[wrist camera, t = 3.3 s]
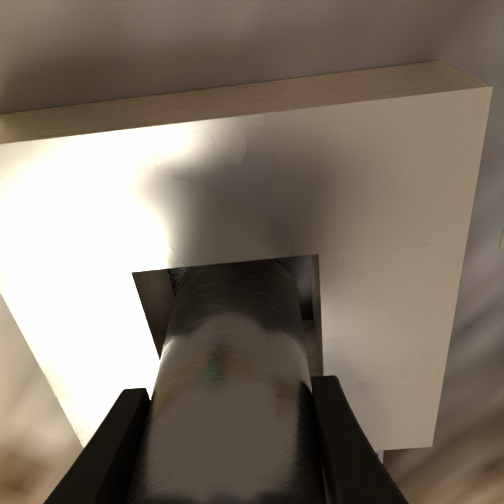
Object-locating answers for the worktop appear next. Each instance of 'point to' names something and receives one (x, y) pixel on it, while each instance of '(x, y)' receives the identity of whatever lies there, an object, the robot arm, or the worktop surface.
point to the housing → (249, 227)
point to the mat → (502, 242)
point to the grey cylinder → (231, 395)
